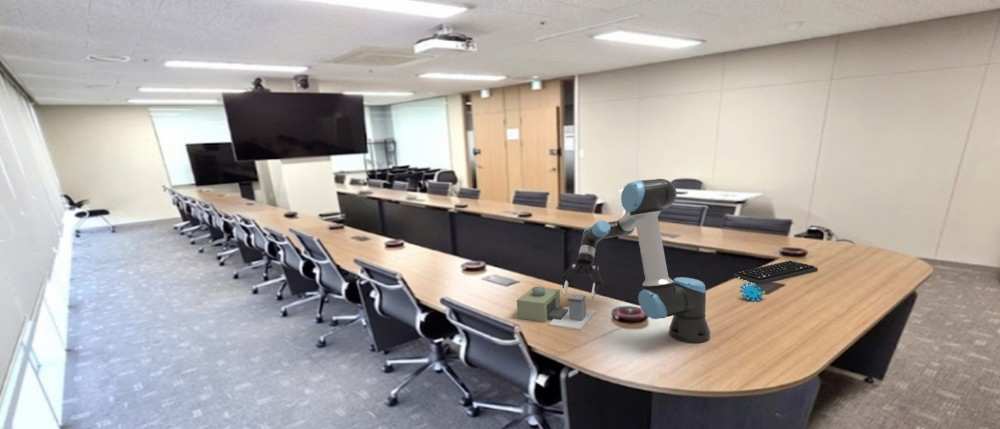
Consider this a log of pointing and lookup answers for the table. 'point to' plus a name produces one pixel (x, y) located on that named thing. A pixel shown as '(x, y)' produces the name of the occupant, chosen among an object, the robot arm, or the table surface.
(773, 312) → the table surface
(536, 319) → the green knobbed box
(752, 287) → the blue virus model
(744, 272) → the computer keyboard
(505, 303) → the table surface
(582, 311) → the gray lidded box
